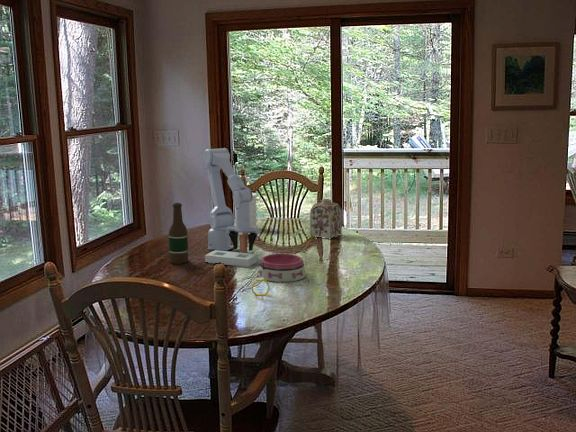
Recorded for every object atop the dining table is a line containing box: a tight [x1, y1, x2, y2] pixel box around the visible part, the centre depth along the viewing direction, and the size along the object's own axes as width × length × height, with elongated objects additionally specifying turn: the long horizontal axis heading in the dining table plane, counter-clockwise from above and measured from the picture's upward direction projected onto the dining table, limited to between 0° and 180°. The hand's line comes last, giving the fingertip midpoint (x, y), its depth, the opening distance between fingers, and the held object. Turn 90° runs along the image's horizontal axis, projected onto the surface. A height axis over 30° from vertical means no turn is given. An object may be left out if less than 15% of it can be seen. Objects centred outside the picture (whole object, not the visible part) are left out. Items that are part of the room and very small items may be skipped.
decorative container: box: [250, 192, 259, 229], centre depth 303 cm, size 12×12×18 cm
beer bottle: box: [168, 202, 189, 265], centre depth 241 cm, size 8×8×24 cm
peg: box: [239, 234, 248, 253], centre depth 251 cm, size 3×3×9 cm
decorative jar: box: [309, 198, 343, 238], centre depth 288 cm, size 12×12×18 cm
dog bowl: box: [256, 253, 308, 284], centre depth 224 cm, size 18×19×7 cm
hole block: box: [204, 250, 258, 268], centre depth 243 cm, size 19×9×3 cm, turn 71°
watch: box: [251, 277, 270, 297], centre depth 201 cm, size 6×3×6 cm, turn 95°
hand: (243, 249), depth 251 cm, fingers open, 6 cm apart
